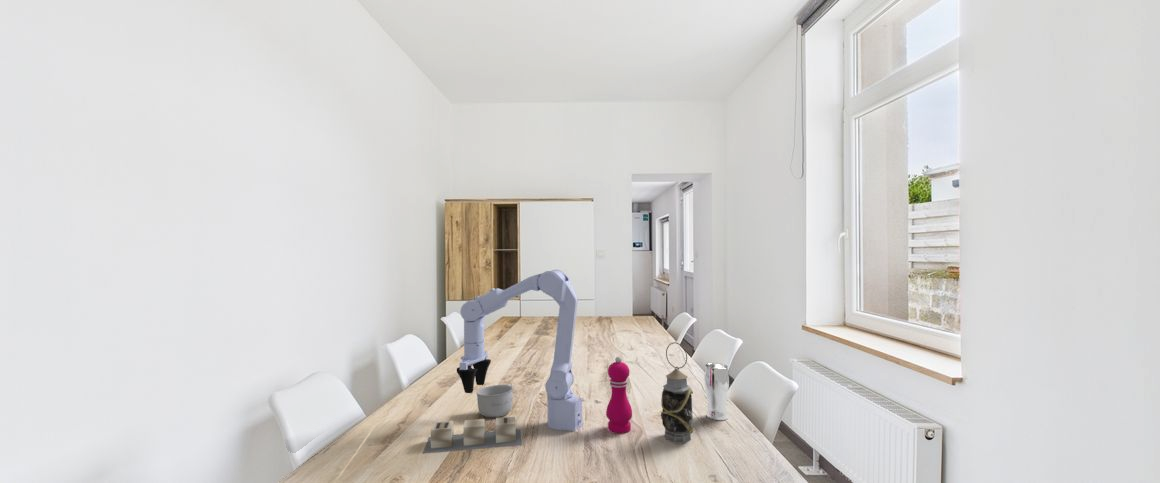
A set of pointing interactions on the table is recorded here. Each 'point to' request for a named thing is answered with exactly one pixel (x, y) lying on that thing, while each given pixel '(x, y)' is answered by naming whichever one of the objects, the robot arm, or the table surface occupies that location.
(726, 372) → the silver tall cylinder
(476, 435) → the plain block
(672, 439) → the lantern
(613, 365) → the pepper mill
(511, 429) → the marked block one
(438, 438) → the marked block two
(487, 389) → the teacup
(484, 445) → the mat
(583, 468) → the table surface
